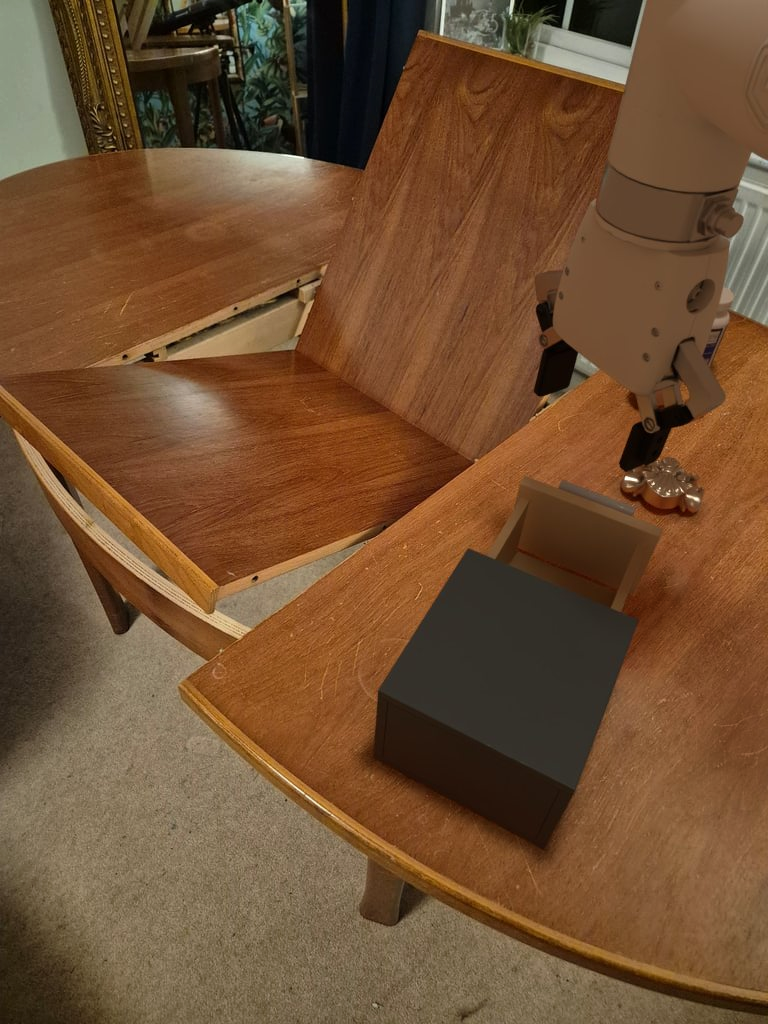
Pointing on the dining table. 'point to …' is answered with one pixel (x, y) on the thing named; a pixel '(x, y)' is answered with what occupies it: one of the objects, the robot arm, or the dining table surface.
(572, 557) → the drawer
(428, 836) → the dining table surface
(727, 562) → the dining table surface
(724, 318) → the pill bottle
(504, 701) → the cabinet
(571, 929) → the dining table surface
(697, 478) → the ornament
